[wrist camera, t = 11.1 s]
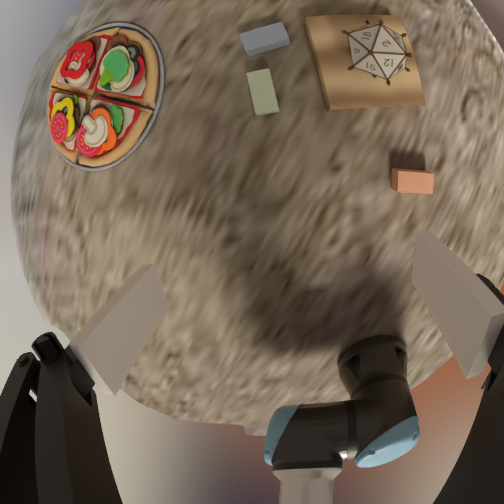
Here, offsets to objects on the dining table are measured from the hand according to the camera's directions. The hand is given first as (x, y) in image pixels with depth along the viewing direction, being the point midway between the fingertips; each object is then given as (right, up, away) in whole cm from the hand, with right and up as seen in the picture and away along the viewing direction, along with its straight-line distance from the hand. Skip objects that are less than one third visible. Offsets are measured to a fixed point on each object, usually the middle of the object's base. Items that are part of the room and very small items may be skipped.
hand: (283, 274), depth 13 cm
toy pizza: (-28, +28, +23) cm, 46 cm away
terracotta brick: (+22, +12, +22) cm, 33 cm away
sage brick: (0, +23, +20) cm, 30 cm away
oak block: (+14, +27, +16) cm, 34 cm away
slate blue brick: (0, +30, +17) cm, 34 cm away
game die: (+14, +26, +13) cm, 32 cm away
